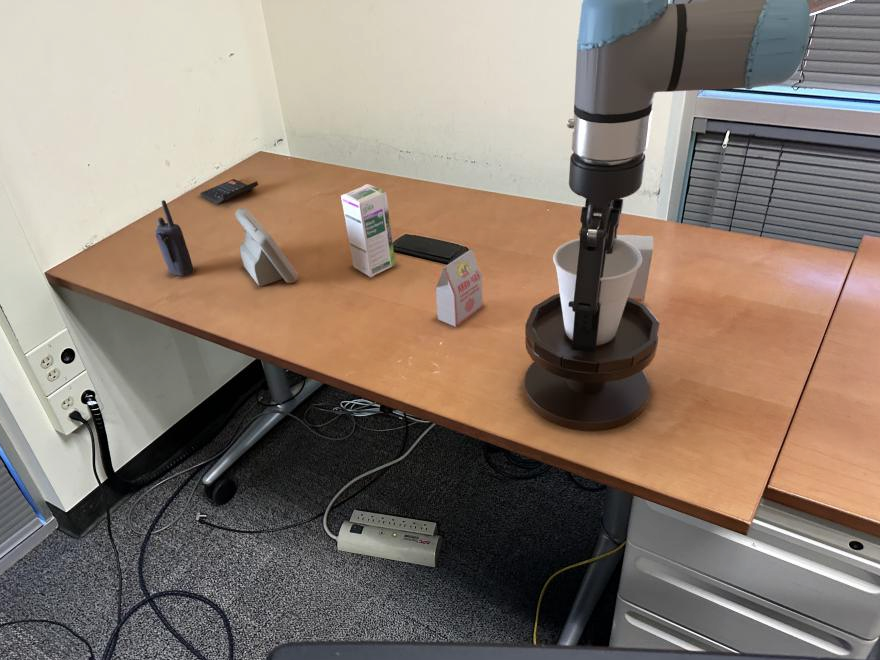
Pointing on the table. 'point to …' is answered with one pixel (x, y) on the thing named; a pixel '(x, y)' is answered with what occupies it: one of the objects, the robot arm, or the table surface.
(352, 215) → the syrup box
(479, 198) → the table surface
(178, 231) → the two-way radio
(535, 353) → the cup stand
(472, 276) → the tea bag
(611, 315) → the cup
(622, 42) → the robot arm
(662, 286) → the table surface
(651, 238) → the cosmetic box
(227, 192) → the calculator
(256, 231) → the digital clock
